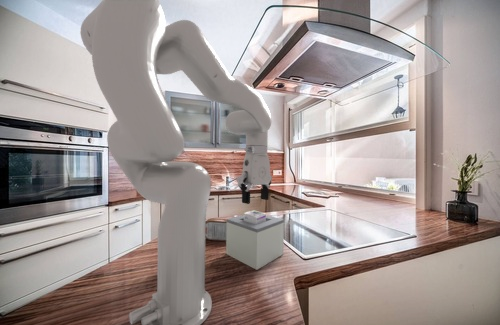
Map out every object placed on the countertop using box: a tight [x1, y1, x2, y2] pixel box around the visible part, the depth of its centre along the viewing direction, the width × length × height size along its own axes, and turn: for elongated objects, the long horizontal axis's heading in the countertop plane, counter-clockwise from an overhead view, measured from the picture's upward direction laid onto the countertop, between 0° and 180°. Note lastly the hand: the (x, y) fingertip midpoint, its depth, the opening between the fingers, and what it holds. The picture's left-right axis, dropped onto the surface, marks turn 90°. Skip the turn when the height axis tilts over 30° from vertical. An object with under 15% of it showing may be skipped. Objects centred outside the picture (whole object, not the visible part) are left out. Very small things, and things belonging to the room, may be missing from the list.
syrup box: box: [243, 209, 267, 225], centre depth 66 cm, size 6×6×14 cm
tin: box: [205, 217, 228, 242], centre depth 79 cm, size 15×3×8 cm, turn 84°
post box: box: [225, 214, 285, 271], centre depth 67 cm, size 14×14×12 cm
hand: (255, 201), depth 67 cm, fingers open, 9 cm apart
